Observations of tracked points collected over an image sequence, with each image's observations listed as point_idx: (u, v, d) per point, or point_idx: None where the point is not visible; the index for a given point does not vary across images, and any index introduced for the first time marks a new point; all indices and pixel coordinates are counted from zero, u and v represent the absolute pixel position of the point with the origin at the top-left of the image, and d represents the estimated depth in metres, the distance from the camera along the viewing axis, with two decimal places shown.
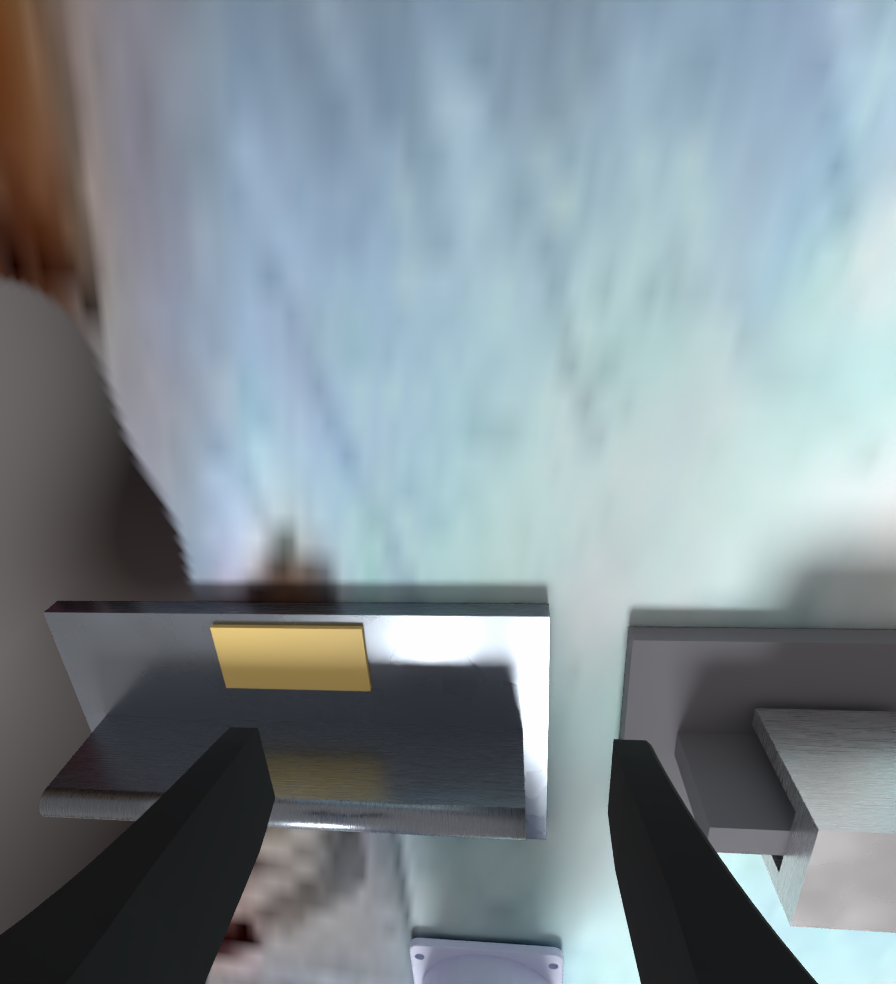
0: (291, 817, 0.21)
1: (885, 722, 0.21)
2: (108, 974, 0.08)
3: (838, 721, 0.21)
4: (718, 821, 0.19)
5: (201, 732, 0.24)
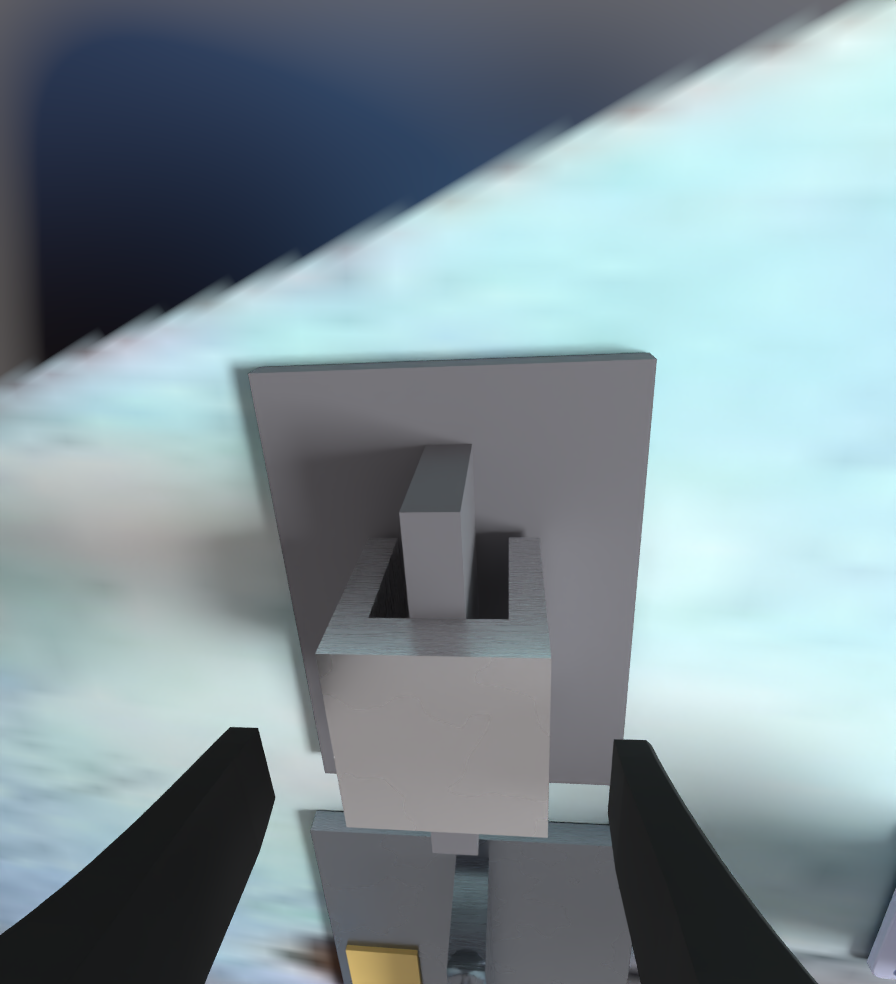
0: None
1: None
2: (108, 974, 0.08)
3: None
4: None
5: None
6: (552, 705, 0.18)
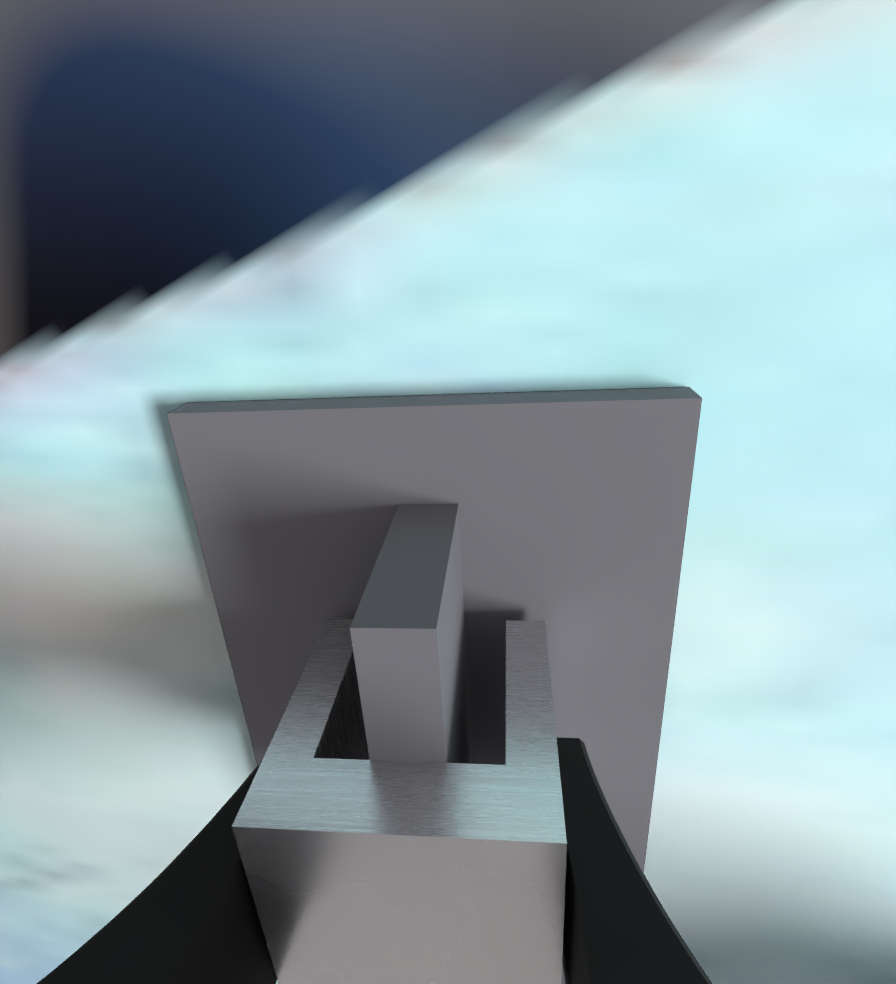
0: None
1: None
2: (197, 981, 0.07)
3: None
4: None
5: None
6: None
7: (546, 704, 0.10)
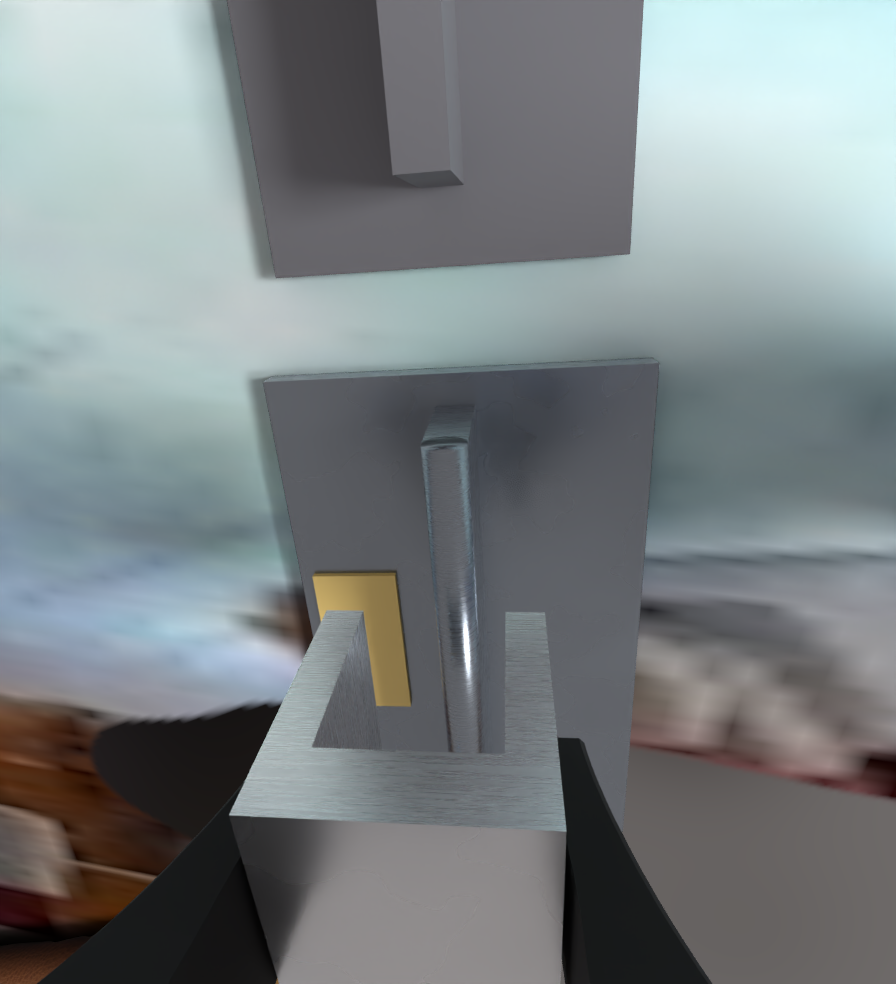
0: (452, 709, 0.18)
1: None
2: (196, 981, 0.07)
3: None
4: None
5: None
6: (547, 116, 0.15)
7: (546, 694, 0.10)
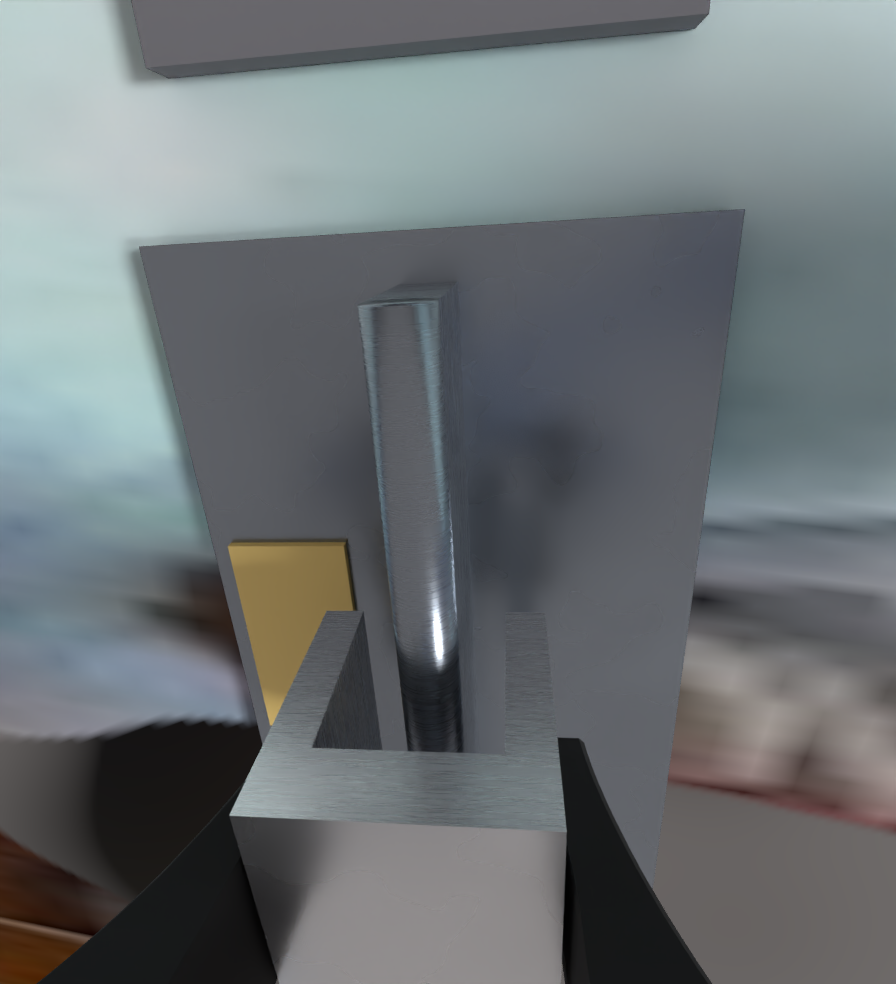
0: (417, 743, 0.11)
1: None
2: (197, 981, 0.07)
3: None
4: None
5: None
6: None
7: (546, 694, 0.10)
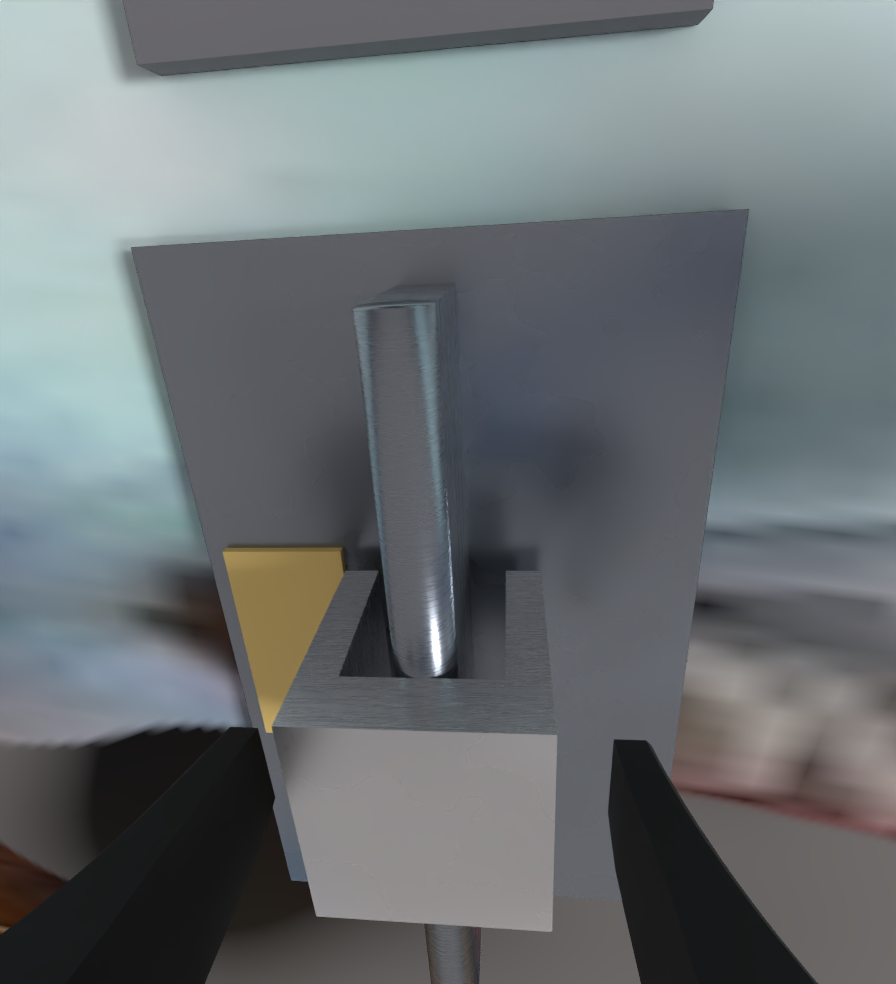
0: None
1: None
2: (108, 974, 0.08)
3: None
4: None
5: None
6: None
7: (541, 634, 0.11)
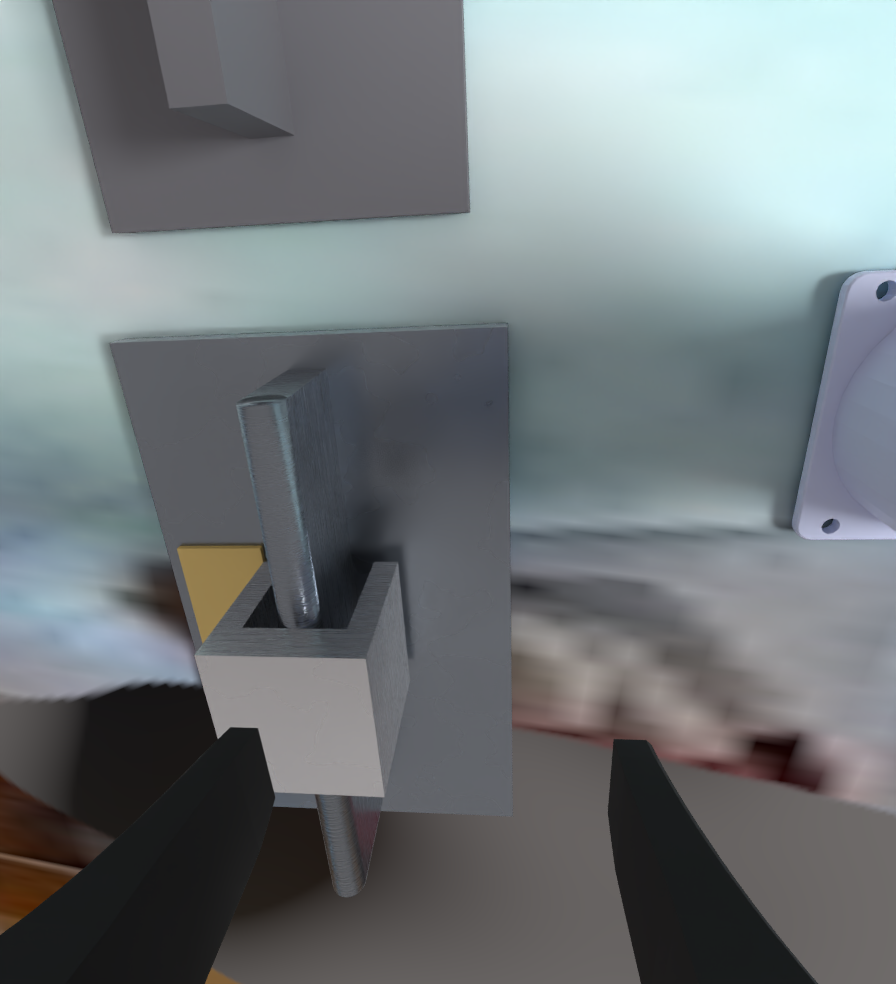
0: None
1: None
2: (108, 974, 0.08)
3: None
4: None
5: None
6: (372, 64, 0.14)
7: (380, 602, 0.17)
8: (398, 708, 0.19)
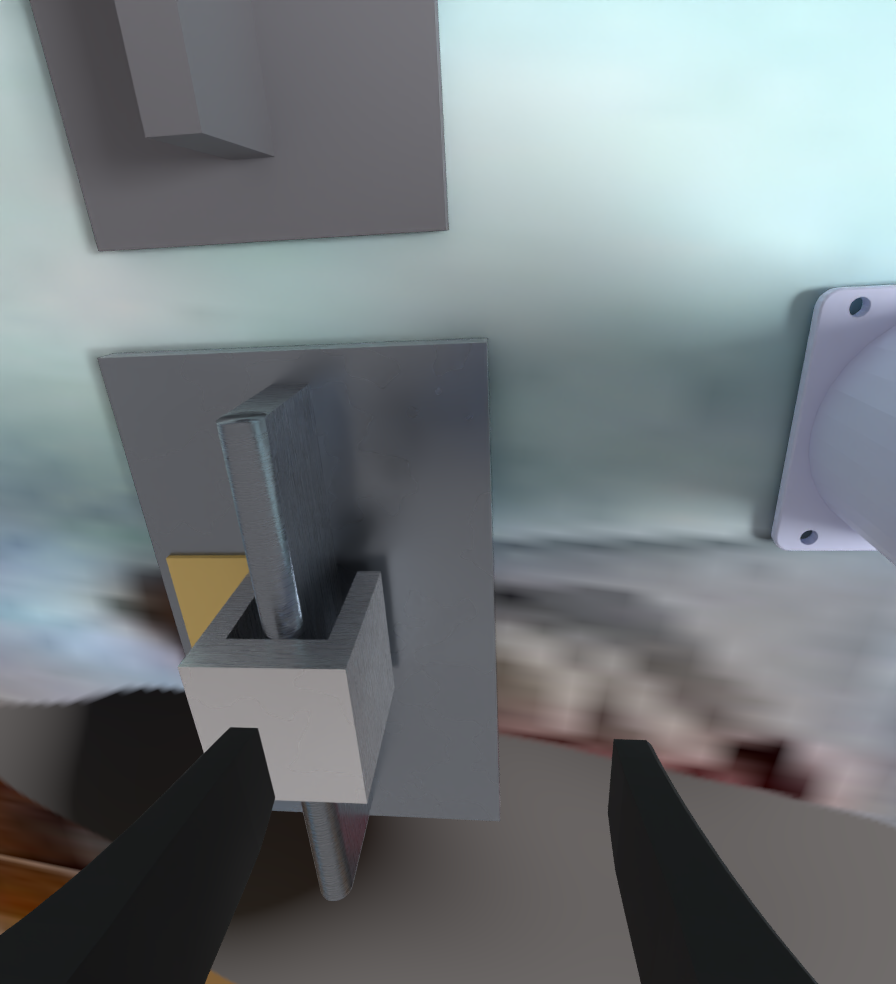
0: None
1: None
2: (108, 974, 0.08)
3: None
4: None
5: None
6: (349, 87, 0.14)
7: (362, 613, 0.17)
8: (382, 715, 0.19)
